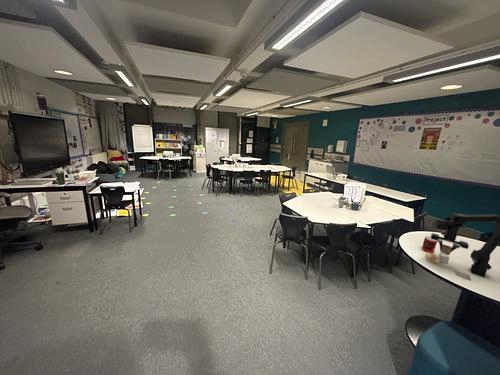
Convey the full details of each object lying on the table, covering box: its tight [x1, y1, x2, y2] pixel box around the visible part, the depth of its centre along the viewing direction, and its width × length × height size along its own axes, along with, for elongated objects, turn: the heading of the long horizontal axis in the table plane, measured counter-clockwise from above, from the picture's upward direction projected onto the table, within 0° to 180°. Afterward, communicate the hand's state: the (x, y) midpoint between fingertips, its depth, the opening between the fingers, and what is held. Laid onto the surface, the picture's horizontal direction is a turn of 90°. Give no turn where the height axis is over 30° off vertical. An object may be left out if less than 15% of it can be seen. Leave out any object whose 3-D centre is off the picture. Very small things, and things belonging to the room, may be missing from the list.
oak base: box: [424, 252, 440, 265], centre depth 151 cm, size 7×7×4 cm
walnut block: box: [439, 243, 452, 256], centre depth 143 cm, size 4×4×5 cm
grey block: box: [438, 252, 450, 264], centre depth 151 cm, size 4×4×5 cm
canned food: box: [421, 235, 438, 254], centre depth 164 cm, size 8×8×11 cm
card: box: [454, 270, 472, 281], centre depth 136 cm, size 7×7×1 cm
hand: (444, 251), depth 143 cm, fingers closed on walnut block, 4 cm apart
